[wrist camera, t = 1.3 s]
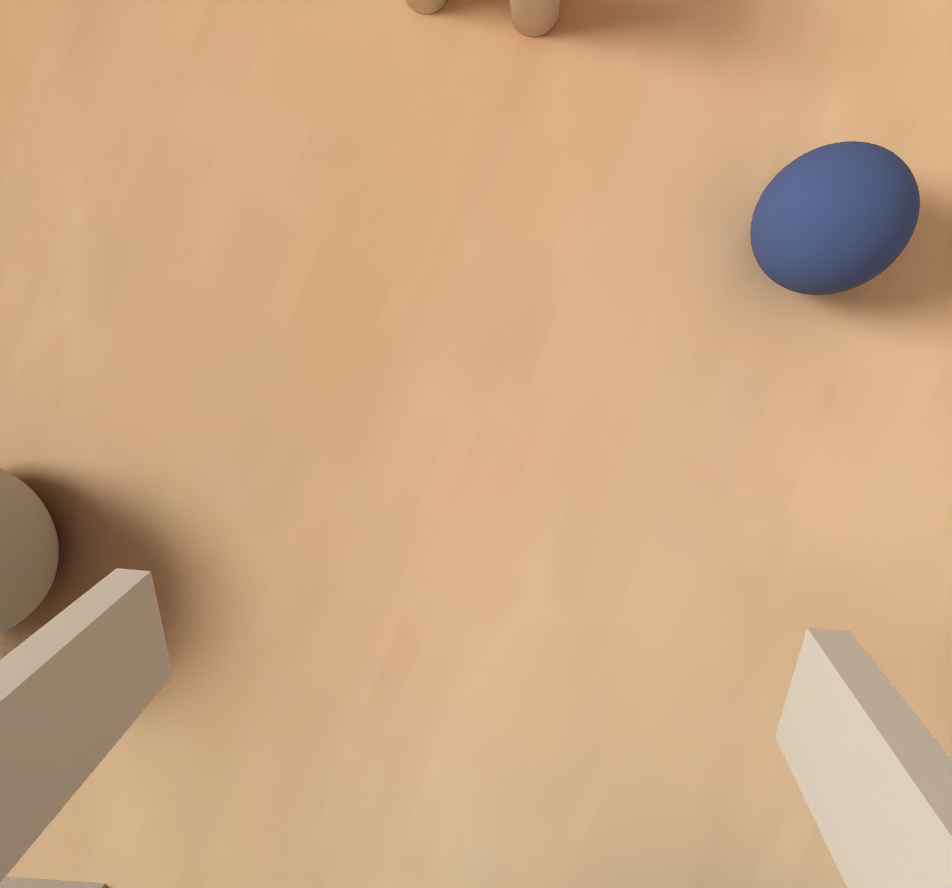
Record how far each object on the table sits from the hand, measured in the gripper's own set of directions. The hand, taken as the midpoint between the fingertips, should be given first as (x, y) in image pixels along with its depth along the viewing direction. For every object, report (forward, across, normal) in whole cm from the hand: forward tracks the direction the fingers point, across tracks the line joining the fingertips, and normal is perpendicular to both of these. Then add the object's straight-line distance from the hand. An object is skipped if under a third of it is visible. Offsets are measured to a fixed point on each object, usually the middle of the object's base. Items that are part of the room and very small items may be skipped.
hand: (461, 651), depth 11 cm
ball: (+18, -13, -9) cm, 24 cm away
